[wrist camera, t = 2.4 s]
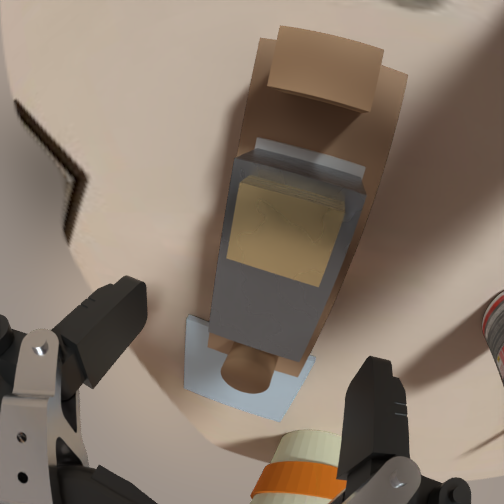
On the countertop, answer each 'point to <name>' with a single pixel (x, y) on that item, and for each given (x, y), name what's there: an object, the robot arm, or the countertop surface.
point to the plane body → (315, 145)
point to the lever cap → (281, 249)
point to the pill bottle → (495, 331)
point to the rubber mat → (214, 387)
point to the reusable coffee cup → (301, 470)
